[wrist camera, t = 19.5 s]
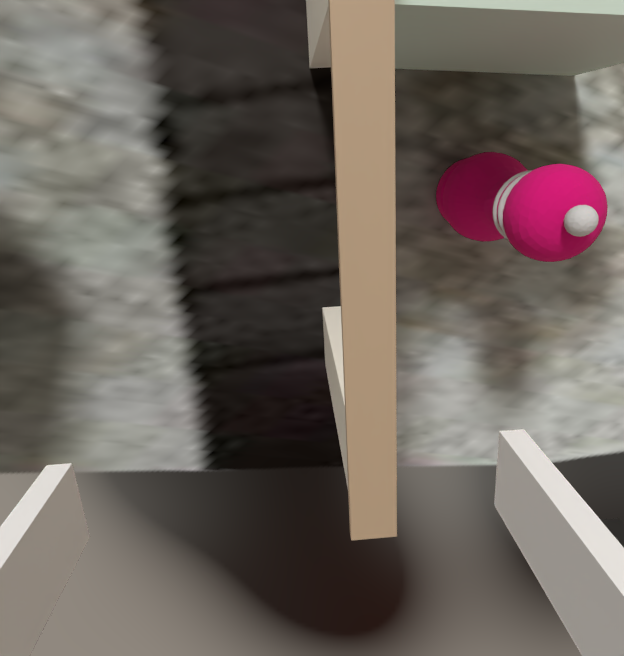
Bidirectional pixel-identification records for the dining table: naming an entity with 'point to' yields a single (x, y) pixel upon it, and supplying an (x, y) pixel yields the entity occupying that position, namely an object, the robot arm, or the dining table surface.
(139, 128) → the dining table surface
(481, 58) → the door
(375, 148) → the door frame
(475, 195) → the pepper mill
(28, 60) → the dining table surface
